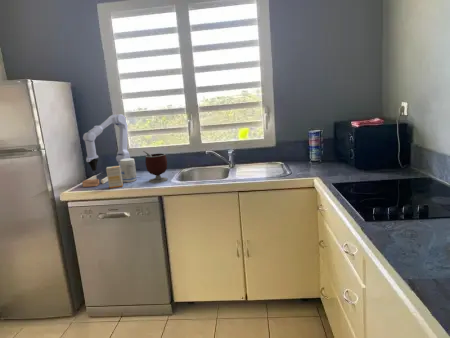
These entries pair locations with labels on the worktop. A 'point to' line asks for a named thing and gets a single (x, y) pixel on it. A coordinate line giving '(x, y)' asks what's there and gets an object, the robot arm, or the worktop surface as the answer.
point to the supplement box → (114, 176)
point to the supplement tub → (128, 170)
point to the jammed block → (90, 183)
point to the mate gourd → (156, 166)
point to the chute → (101, 180)
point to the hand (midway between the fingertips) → (94, 170)
